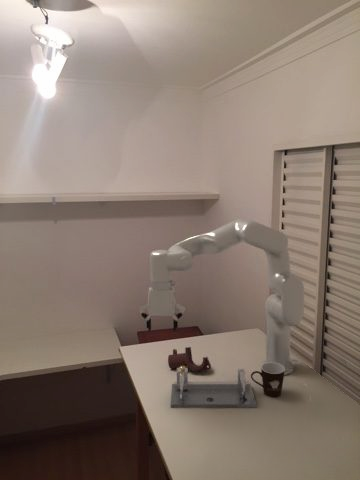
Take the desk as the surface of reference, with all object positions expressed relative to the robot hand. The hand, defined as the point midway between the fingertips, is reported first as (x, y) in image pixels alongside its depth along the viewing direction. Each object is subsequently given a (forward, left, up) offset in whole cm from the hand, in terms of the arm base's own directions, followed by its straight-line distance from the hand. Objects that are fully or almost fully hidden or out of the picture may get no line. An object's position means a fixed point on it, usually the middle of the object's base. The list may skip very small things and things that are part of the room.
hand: (162, 329), depth 155 cm
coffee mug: (-39, +1, -25) cm, 46 cm away
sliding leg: (-7, +4, -23) cm, 24 cm away
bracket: (-10, -17, -25) cm, 31 cm away
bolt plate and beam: (-18, +4, -24) cm, 31 cm away
